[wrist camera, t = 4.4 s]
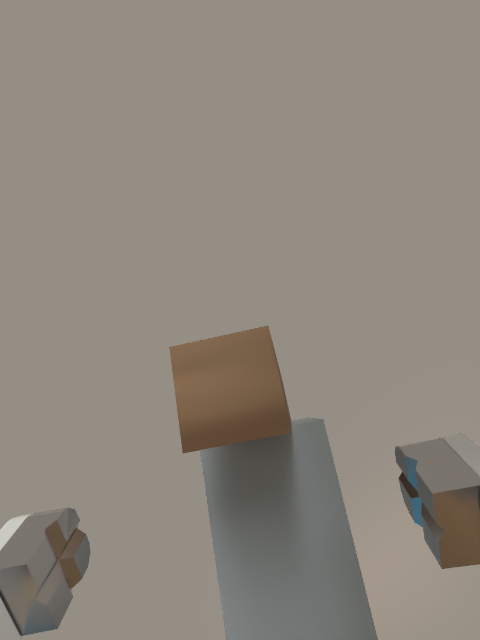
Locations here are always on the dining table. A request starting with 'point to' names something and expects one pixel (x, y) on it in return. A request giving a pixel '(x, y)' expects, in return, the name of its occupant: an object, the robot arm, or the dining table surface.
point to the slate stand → (284, 540)
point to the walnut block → (229, 390)
